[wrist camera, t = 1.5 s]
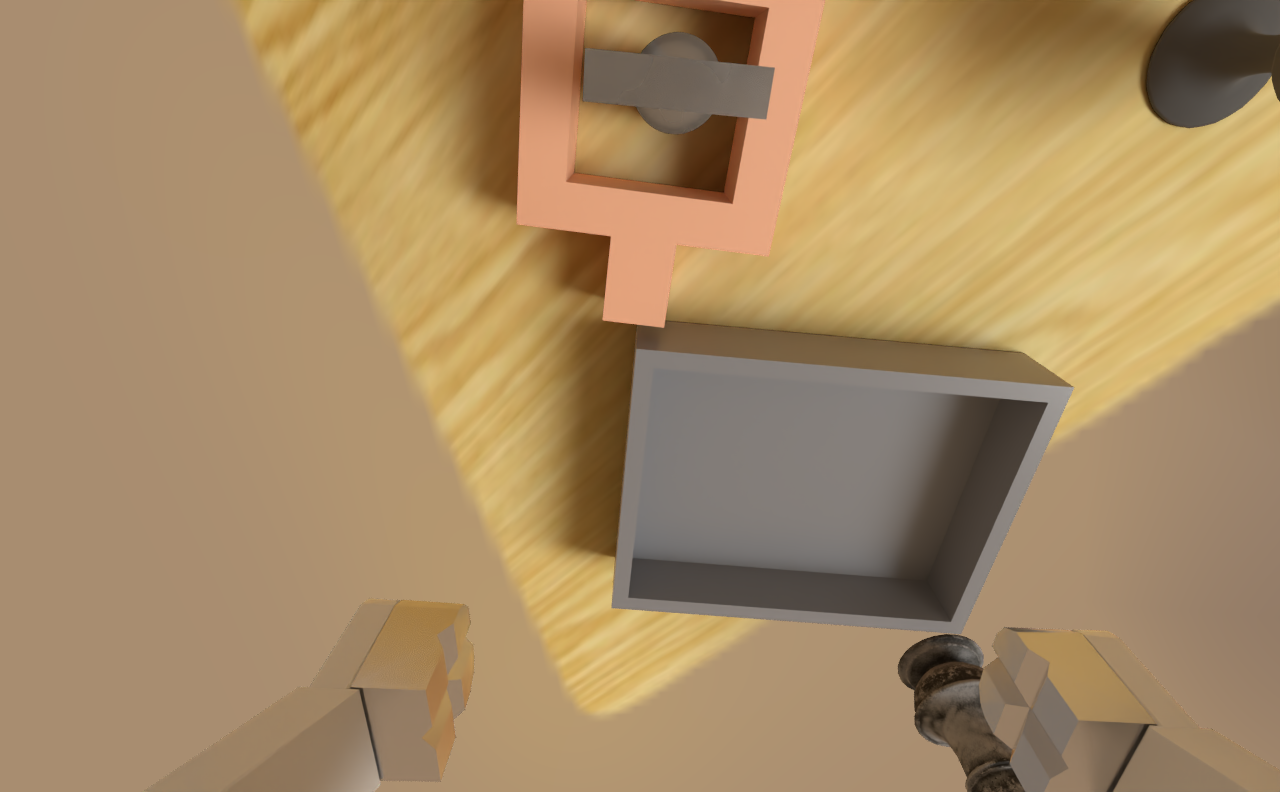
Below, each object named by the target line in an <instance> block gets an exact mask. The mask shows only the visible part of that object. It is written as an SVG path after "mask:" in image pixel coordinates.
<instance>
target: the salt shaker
mask: <svg viewBox="0 0 1280 792" xmlns="http://www.w3.org/2000/svg"><path fill="white" fill-rule="evenodd" d="M983 659H984V657H983V653H982V651H981V648H980V647H979V646H978V645H977V644H976V643H975V642H974V641H972V640H971V639H969V638H967V637H963V636H959V635H948V634H945V635H938V636H933V637H930V638H927V639H924V640H922V641H920V642H918V643H916V644H914V645H913V646H912V647H910V648H909V649H908V650H907V651H906V652H905V653H904V655H903V656H902V657H901V659H900V662H899V664H898V674H899V676H900V678H901V680H902V682H903V683H904V684H905V685H906V686H907V687H909V688H911V689H913V690H915V691H914V707H915V712H916V713H915V726H916V728H917V730H918V732H919V734H921V735H922V736H923V737H924V738H925V739H926V740H928V741H930V742H932V743H934V744H937V745H941V746H946V747H951V748H952V749H953V751H954V752H955V754H956V755H957V757H958V759H959V761H960V763H961V765H962V767H963V769H964V772H965V774H966V776H967V780H966V785H965V787H966V789H967V792H1025V790H1024V789H1023V787H1022V785H1021V783H1020V781H1019V780H1018V778H1017V776H1016V774H1015V772H1014V770H1013V769H1012V767H1011V765H1010V759H1011V753H1012V749H1011V748H1010V747H1009V746H1008V745H1006V744H1005V743H1004V742H1003V741H1001V740H1000V739H999V738H998V737H996V736H995V735H994V734H993V732H992V730H991V728H990V726H989V724H988V722H987V721H986V719H985V716H984V713H983V710H982V707H981V703H980V691H979V682H980V679H981V676H982V673H983V668H982V665H983Z"/></svg>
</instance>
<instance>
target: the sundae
mask: <svg viewBox="0 0 1280 792" xmlns="http://www.w3.org/2000/svg"><path fill="white" fill-rule="evenodd" d="M1271 75H1272V82H1273V86H1274V90H1275V93H1276V96H1277V98H1278V100H1279V101H1280V0H1193V1H1192V2H1190V3H1189V4H1188V5H1187V6H1186V7H1185V8H1184V9H1183V10H1182V11H1181V12H1180V13H1179V14H1178V15H1177V16H1176V17H1175V18H1174V19H1173V21H1172V22H1171V23H1170V24H1169V25H1168V27H1167V28H1166V29H1165V31H1164V32H1163V34H1162V36H1161V38H1160V39H1159V41H1158V43H1157V45H1156V47H1155V50H1154V52H1153V54H1152V56H1151V59H1150V64H1149V69H1148V75H1147V91H1148V96H1149V100H1150V102H1151V105H1152V108H1153V109H1154V110H1155V112H1156V113H1157V114H1158V115H1159V116H1160V117H1161V118H1162V119H1163V120H1165V121H1166V122H1167V123H1169V124H1172V125H1176V126H1179V127H1186V128H1194V127H1201V126H1205V125H1209V124H1213V123H1216V122H1218V121H1220V120H1222V119H1224V118H1226V117H1228V116H1229V115H1231V114H1233V113H1234V112H1236V111H1237V110H1239V109H1241V108H1242V107H1243V106H1244V105H1245V104H1246V103H1247V102H1249V101H1250V100H1251V99H1252V98H1253V97H1254V96H1255V95H1256V94H1257V93H1258V92H1259V90H1260V89H1261V88H1262V87H1263V86H1264V85H1265V84H1266V83H1267V81H1268V80H1269V78H1270V77H1271Z"/></svg>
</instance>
